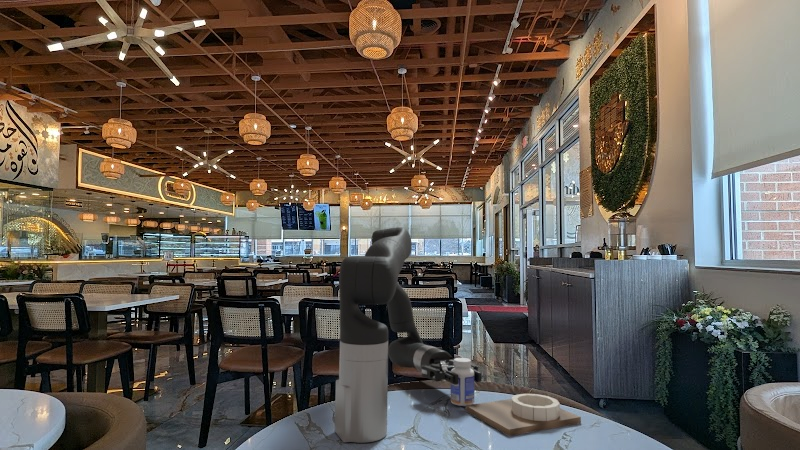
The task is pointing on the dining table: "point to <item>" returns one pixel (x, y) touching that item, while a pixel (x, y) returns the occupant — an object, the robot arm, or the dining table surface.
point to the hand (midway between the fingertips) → (468, 378)
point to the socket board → (516, 418)
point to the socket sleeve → (535, 407)
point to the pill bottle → (463, 383)
